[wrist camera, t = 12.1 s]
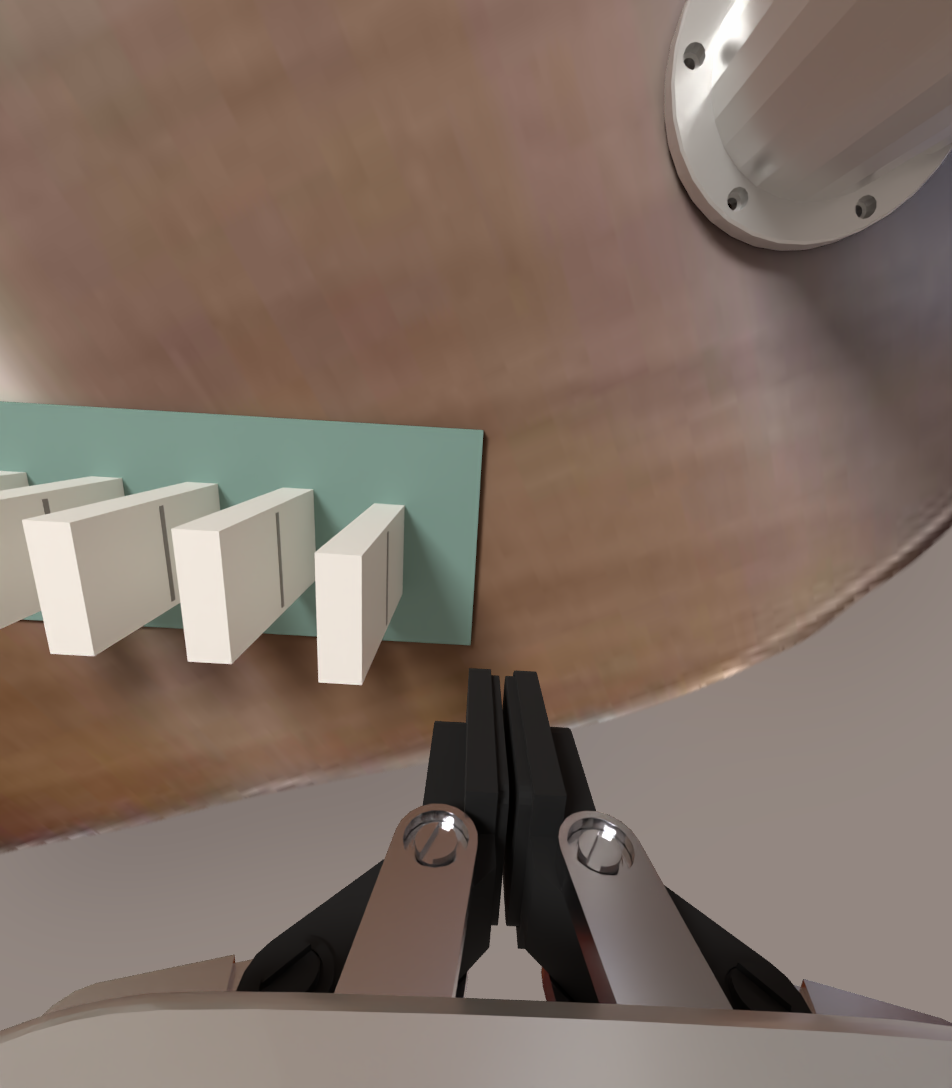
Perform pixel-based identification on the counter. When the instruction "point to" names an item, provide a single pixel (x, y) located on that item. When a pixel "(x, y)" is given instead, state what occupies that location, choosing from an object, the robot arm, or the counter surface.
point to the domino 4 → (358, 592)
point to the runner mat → (285, 462)
